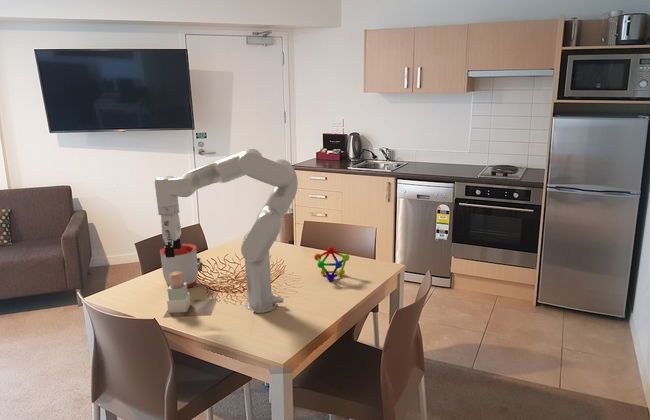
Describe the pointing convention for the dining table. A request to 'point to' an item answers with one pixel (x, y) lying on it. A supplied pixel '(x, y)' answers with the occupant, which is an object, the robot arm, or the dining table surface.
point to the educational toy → (337, 264)
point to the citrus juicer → (181, 264)
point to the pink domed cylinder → (176, 279)
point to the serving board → (196, 309)
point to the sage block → (177, 292)
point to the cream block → (178, 305)
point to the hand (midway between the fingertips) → (173, 252)
